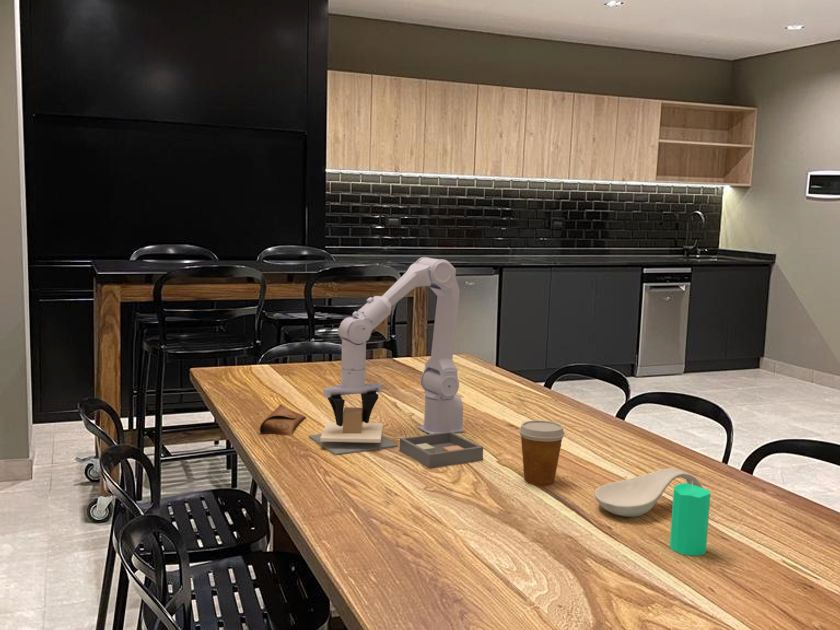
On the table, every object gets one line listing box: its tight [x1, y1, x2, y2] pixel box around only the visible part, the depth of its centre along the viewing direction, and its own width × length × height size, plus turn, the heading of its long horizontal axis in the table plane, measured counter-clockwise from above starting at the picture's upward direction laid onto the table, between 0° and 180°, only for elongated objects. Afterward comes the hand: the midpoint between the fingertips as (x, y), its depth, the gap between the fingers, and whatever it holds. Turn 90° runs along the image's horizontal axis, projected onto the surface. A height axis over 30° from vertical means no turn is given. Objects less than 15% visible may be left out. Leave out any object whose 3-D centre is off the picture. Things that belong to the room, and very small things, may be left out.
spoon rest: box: [593, 467, 704, 518], centre depth 162 cm, size 24×12×7 cm, turn 114°
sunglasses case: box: [259, 404, 307, 436], centre depth 213 cm, size 18×7×7 cm
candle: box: [669, 481, 711, 557], centre depth 142 cm, size 6×6×12 cm
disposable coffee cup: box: [518, 420, 566, 487], centre depth 175 cm, size 10×10×12 cm
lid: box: [320, 406, 384, 443], centre depth 199 cm, size 14×14×6 cm
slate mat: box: [308, 433, 398, 456], centre depth 200 cm, size 16×16×1 cm
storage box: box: [399, 432, 484, 469], centre depth 191 cm, size 14×14×3 cm
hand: (352, 423), depth 200 cm, fingers closed on lid, 6 cm apart
